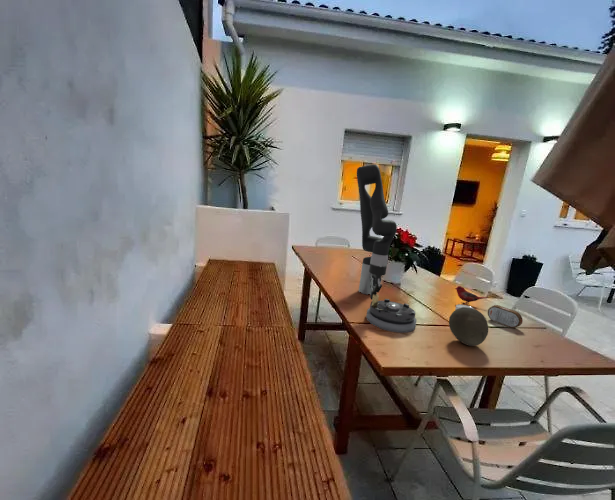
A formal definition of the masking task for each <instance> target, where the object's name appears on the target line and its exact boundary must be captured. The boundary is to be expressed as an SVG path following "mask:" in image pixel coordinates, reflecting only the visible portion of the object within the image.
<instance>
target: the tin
mask: <svg viewBox="0 0 615 500" xmlns="http://www.w3.org/2000/svg"><path fill="white" fill-rule="evenodd" d="M487 316H488V318H489V319H490V320H491V321H493V322H494V323H497V324H499V325H502V326H505V327H507V328H510V329H516V328H519V327H520V326H521V325H522V324H523V322H524V321H523V320H524V319H523V317H522V315H521V314H520V312H518V311H516V310H513V309H511V308H508V307H505V306H502V305H498V304H495V305H492V306H490V307H489V308H488V310H487Z"/></svg>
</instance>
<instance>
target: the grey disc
mask: <svg viewBox="0 0 615 500" xmlns="http://www.w3.org/2000/svg"><path fill="white" fill-rule="evenodd" d="M379 297H380V296H379V294H378V293H377V294H373V298H372V300H371V303H370V306H369V308H370V310H369V312H370V314H371V315H372V316H374V317H375V318H377V319H379V320H382V321H385V322H389V323H394V324H410V323H412V322H414V319H415V318H416V311H415V309H413V308H412V307H410V304H408V303H400V302H395V301H391V300H390V298H384V299H383V300H379Z"/></svg>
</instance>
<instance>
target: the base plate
mask: <svg viewBox="0 0 615 500" xmlns="http://www.w3.org/2000/svg"><path fill="white" fill-rule="evenodd" d="M369 310H370V307H369V308H368V309H367V310H366V317H365V318H367V319H366V320H367V322H368V321H369V322H370V324H371V325H372V324H373V326H374V325H375V327H376V326H377V327H376V328H378V327H379V328H378V329H380V330H384V331H388V332H393V333H411V332H413V331H414V330H415V329H416V326H417V318H416V317H415V319H414V322H412V323H410V324H394V323H389V322H385V321H382V320H379V319H377V318H375V317H374V316H372V315H371V314H370V312H369ZM369 322H368V323H369Z"/></svg>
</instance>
